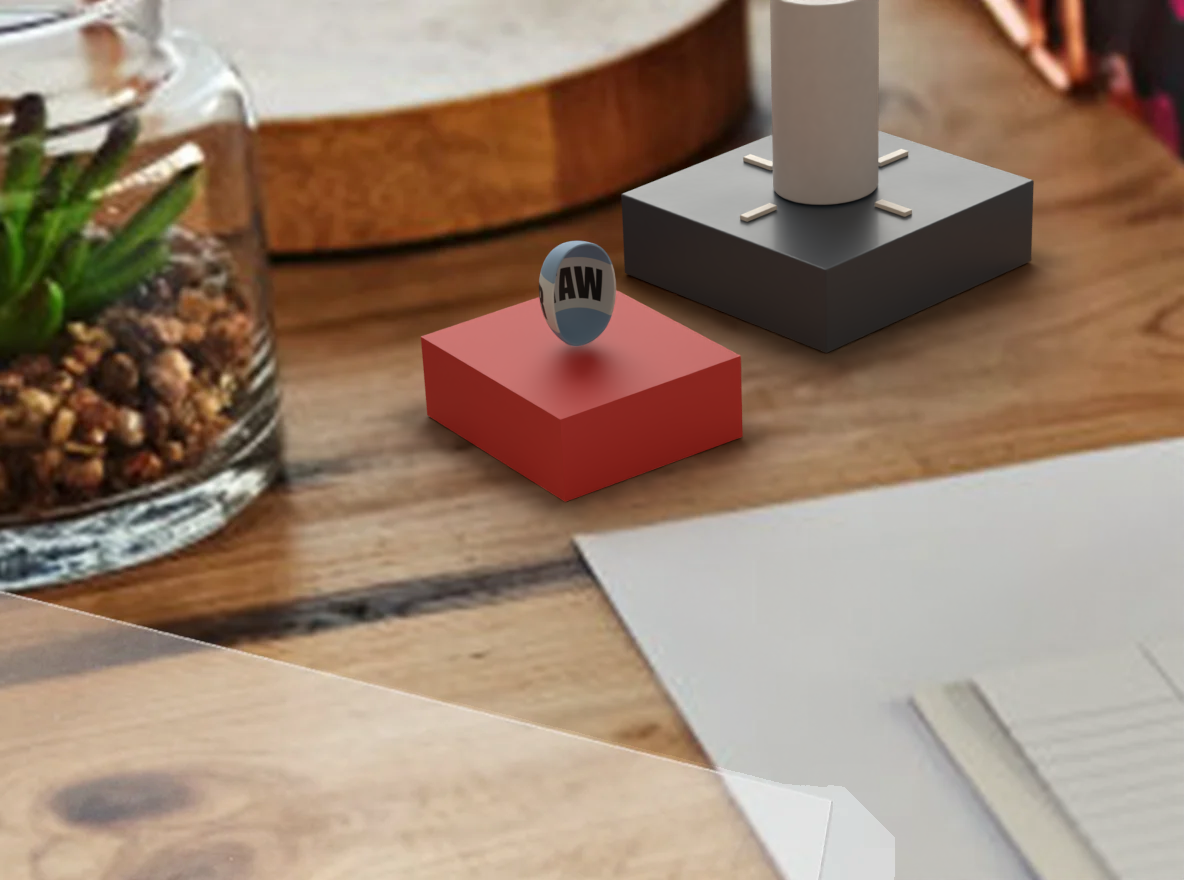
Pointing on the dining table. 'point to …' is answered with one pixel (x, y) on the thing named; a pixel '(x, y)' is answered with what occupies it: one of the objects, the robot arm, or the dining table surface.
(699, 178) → the base
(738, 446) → the dining table surface
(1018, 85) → the dining table surface
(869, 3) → the cylinder
